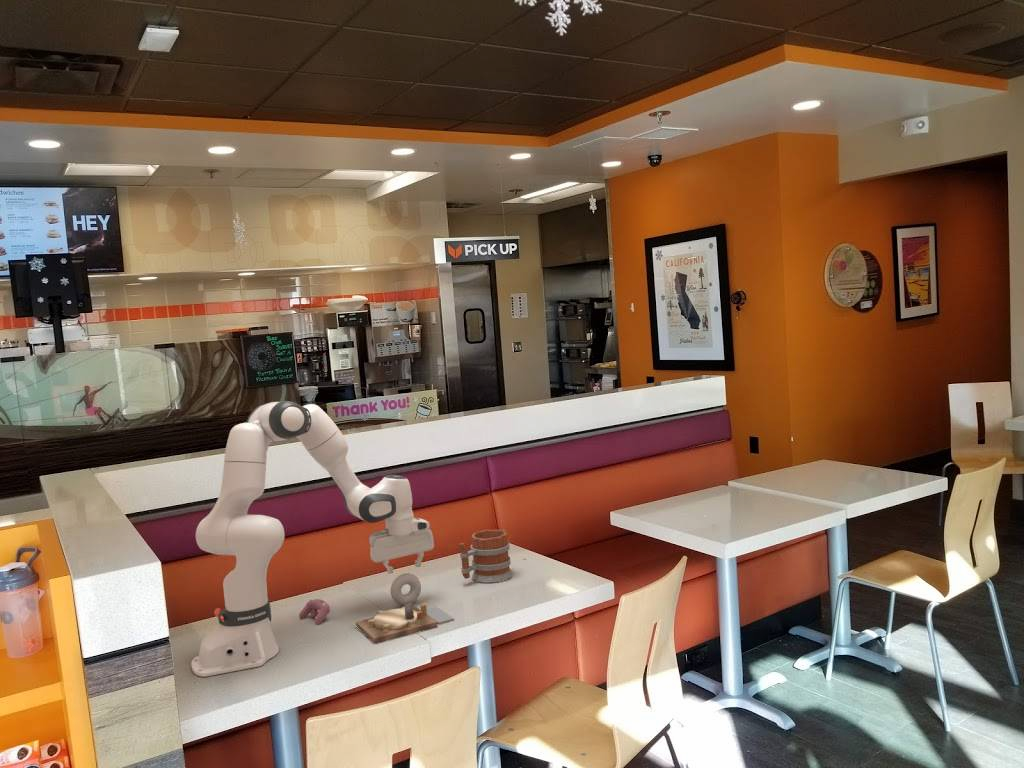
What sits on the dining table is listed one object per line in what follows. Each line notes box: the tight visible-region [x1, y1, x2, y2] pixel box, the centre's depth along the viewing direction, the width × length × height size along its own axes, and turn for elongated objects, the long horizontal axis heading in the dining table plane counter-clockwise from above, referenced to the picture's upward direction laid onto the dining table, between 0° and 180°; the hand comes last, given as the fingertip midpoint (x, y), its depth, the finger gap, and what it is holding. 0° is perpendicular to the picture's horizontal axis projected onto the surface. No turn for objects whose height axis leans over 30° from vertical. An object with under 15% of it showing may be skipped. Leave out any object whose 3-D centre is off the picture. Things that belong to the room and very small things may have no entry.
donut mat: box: [426, 606, 455, 625], centre depth 240 cm, size 5×13×1 cm, turn 29°
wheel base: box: [355, 603, 439, 644], centre depth 233 cm, size 19×16×4 cm
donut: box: [389, 572, 422, 607], centre depth 251 cm, size 10×4×10 cm, turn 120°
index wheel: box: [368, 603, 423, 632], centre depth 233 cm, size 15×15×6 cm
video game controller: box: [298, 598, 331, 625], centre depth 245 cm, size 10×5×7 cm, turn 48°
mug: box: [459, 529, 513, 584], centre depth 271 cm, size 14×19×15 cm
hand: (404, 569), depth 251 cm, fingers open, 8 cm apart
